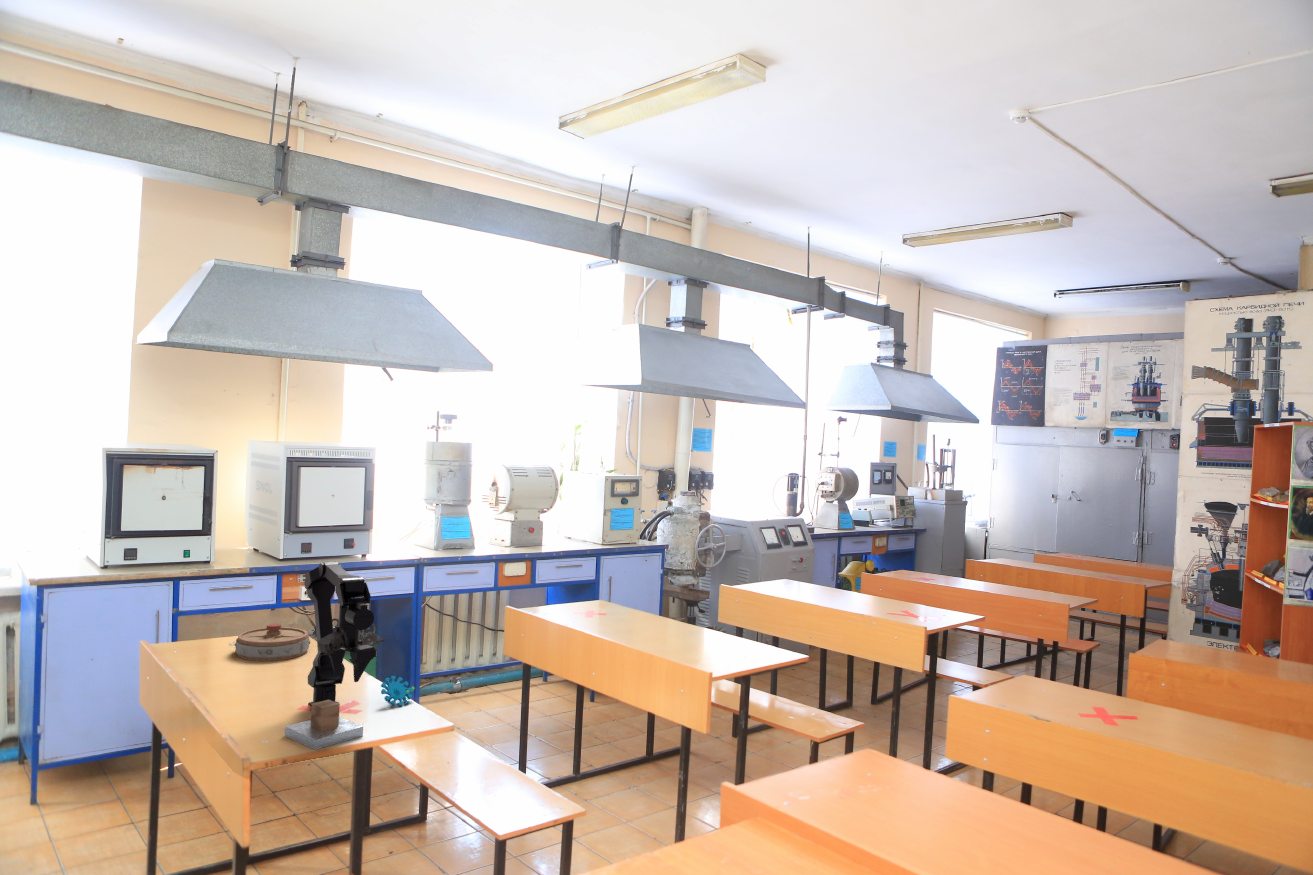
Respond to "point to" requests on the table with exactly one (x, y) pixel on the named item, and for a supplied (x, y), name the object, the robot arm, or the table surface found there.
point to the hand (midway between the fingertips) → (346, 678)
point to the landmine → (272, 643)
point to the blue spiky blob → (396, 691)
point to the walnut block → (325, 715)
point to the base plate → (323, 733)
